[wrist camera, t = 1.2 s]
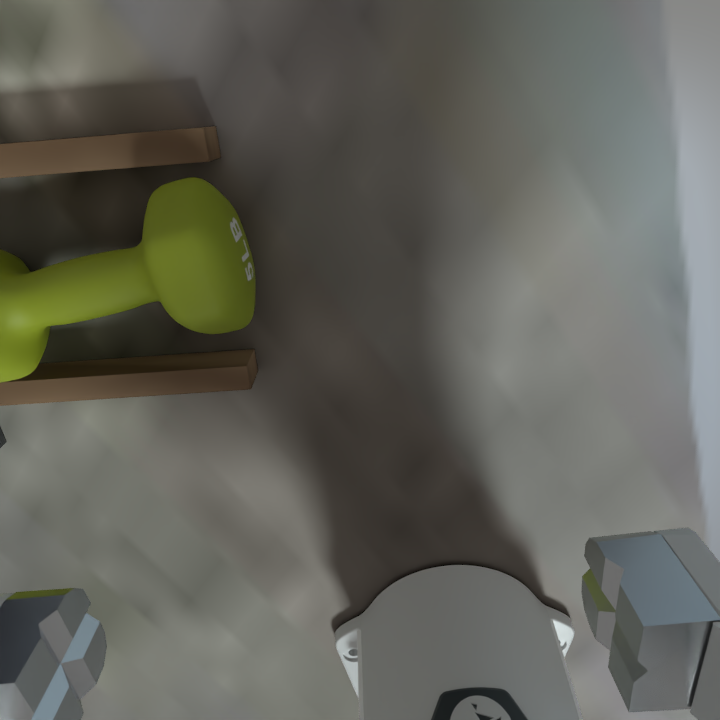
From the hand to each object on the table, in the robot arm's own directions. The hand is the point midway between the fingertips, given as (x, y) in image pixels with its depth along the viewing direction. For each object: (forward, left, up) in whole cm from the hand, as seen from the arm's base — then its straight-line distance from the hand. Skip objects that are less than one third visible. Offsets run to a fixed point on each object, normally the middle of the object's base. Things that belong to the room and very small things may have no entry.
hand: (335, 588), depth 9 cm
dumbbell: (0, +13, -24) cm, 27 cm away
